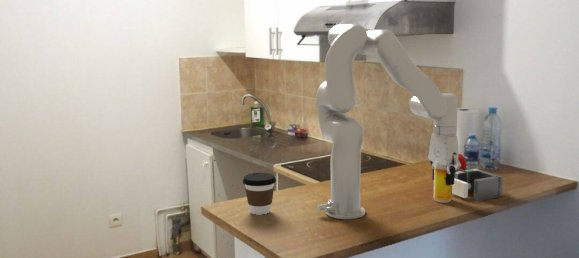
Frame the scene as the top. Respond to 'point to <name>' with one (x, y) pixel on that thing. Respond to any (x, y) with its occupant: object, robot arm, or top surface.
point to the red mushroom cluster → (462, 162)
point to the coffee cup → (259, 192)
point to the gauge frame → (482, 183)
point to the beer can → (441, 184)
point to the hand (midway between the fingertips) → (443, 181)
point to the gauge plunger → (461, 186)
